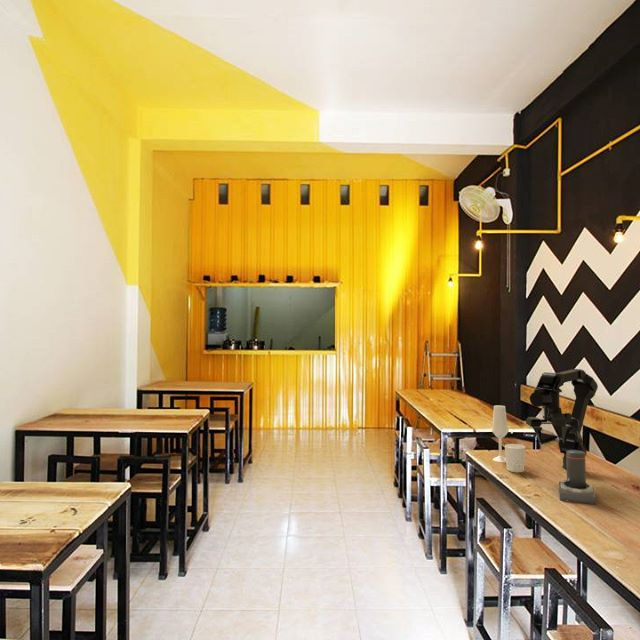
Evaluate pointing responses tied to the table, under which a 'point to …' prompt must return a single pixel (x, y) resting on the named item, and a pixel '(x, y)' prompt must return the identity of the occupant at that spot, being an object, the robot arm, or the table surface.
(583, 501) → the camera body
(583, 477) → the lens
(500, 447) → the champagne flute
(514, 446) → the white cup
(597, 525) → the table surface
